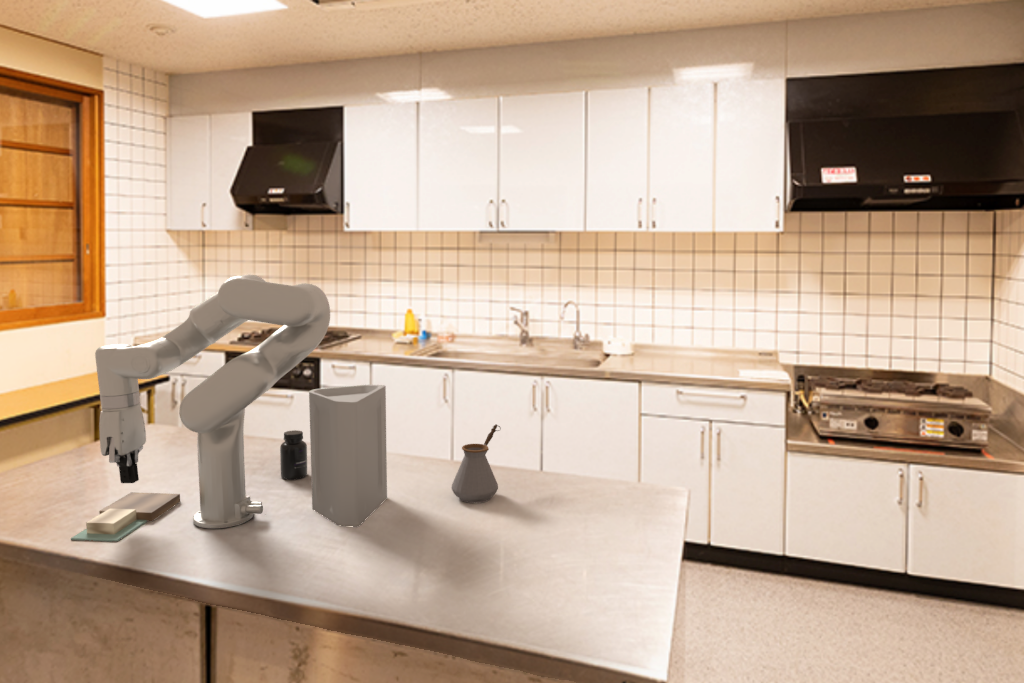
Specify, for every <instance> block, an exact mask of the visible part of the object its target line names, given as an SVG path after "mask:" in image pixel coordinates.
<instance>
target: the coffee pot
mask: <svg viewBox="0 0 1024 683" xmlns="http://www.w3.org/2000/svg"><path fill="white" fill-rule="evenodd" d="M498 427H499V429H498V430H497V428H498ZM501 429H502V427H501V426H500V425H498V424H495V425H493V426H492V428H491V430H490V432H489V433H488V434H487V437H486V439H485V440H484V443H469V444H468V443H467V444H465V445H462V446H461V450H462V451H463V454H464V456H463V458H462V460H461V463H460V465H459V468H458V469H457V472H456V475H455V477H454V478H453V481H452V484H451V491H452V492H453V494H454V495H455V496H456V497H457V498H459V500H460V501H461V502H463V501H464V503H467V504H468V503H469V504H482V503H485V502H488V501H490V500H491V498H493V496H494V495H496V494H497V491H498V490H499V484H498V482H497V480H496V477H495V475H494V473H493V469H492V467H491V466H490V463H489V461H488V458H487V456H486V454H487V453H488V451H489V449H490V448H489V446H488V445H489V444H490V442H491V441H492V438H493V437H494V434H495V432H499V431H501Z"/></svg>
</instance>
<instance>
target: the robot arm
mask: <svg viewBox="0 0 1024 683" xmlns="http://www.w3.org/2000/svg"><path fill="white" fill-rule="evenodd" d="M330 307H331V306H330V303H329V299H328V297H327V295H326V294H325V292H324V291H323V290H322V288H321V287H319V286H317V285H314V284H313V283H299V284H295V285H289V284H283V283H277V282H276V283H275V282H269V281H266V280H265V279H264V278H262V277H261V276H258V275H255V274H243V275H236V276H231V277H230V278H228V279H226V280H225V281H224V282H222V284H221V285H220V287H219V289H218V290H217V292H215V293H213V295H211V296H209V297H208V298H206V299H205V300H203V301H202V302H200V303H199V304H197V305H195V306H194V307H193V308H191V310H190V311H189V316H188V317H187V319H185V321H183V322H182V323H181V324H180V325H178V326H177V327H175V328H174V329H173V330H171V331H170V332H167V333H166V334H165V335H163V336H162V337H160V338H158V339H155V340H152V341H148V342H146V343H142V344H139V345H134V346H132V345H131V344H127V343H115V344H107V345H102V346H99V347H98V348H97V349H96V350H95V352H94V356H95V364H96V372H97V374H96V375H97V381H98V388H99V389H98V390H99V399H100V406H101V407H100V408H101V411H100V414H99V423H98V424H99V425H98V427H99V445H100V447H99V448H100V453H101V455H102V456H104V457H106V456H108V462H109V463H110V464H112V463H114V464H116V466H117V467H118V471H119V472H118V473H119V477H120V483H121V484H135V483H137V482H138V481H139V480H140V479H139V478H140V477H139V469H138V463H139V453H140V452H141V451H142V450H143V449H144V445H145V444H146V442H147V433H146V424H145V419H144V414H143V411H142V406H141V394H140V388H139V387H140V386H139V380H151V379H154V378H157V377H160V376H162V375H163V374H166V373H168V372H171V371H174V370H175V369H177V368H179V367H180V366H182V365H183V364H185V363H186V362H187V361H190V360H191V359H192V358H194V357H195V356H197V355H198V354H199V353H202V352H203V351H204V350H206V348H208V347H209V346H211V345H213V344H215V343H216V342H218V341H219V340H220V339H222V338H224V337H225V336H227V335H228V334H229V333H231V332H232V331H233V330H235V329H236V328H238V327H240V326H241V325H243V324H244V323H246V322H247V321H252V322H259V323H265V324H272V325H279V326H281V327H280V328H278V329H277V330H275V331H274V332H273V333H271V335H269V336H268V337H267V338H266V339H265V340H263V341H262V342H260V344H258V345H256V346H255V347H254V348H252V349H251V350H249V351H247V352H244V353H242V354H240V355H238V356H236V357H233V358H232V359H230V360H228V361H227V362H226V363H225V364H224V365H222V366H221V367H219V369H217V370H216V371H214V372H213V373H212V374H211V375H210V376H208V377H207V378H205V379H204V380H203V381H202V382H201V383H199V384H198V385H197V386H196V387H194V388H193V389H192V390H190V391H189V392H188V393H187V394H185V396H184V398H183V399H182V400H181V402H180V405H179V418H180V422H181V423H182V424H183V425H184V427H185V428H187V429H188V430H190V431H192V432H193V433H197V437H196V438H197V439H196V440H197V441H196V442H197V444H196V445H197V446H196V447H197V466H198V467H197V468H198V485H199V486H198V487H199V491H198V492H199V506H200V509H199V510H198V511H196V513H194V515H193V517H192V519H193V524H194V525H195V526H196V527H199V528H204V529H213V530H214V529H225V528H230V527H235V526H239V525H241V524H245V523H246V522H248V521H250V520H251V519H252V518H253V517H254V515H261V514H262V513H263V511H264V506H263V502H262V501H259V502H258V501H252V500H251V495H250V494H246V492H247V491H246V490H247V489H246V473H245V472H246V468H245V442H244V440H245V439H244V436H245V435H244V432H245V431H244V428H245V427H244V426H245V425H244V424H245V413H246V408H247V407H248V406H250V405H251V404H252V403H253V402H255V401H256V400H257V399H259V398H260V397H261V396H262V395H264V394H266V392H268V391H269V390H271V389H272V387H274V385H275V384H276V383H277V382H278V381H279V380H280V379H281V378H283V377H284V376H285V375H286V374H287V373H289V372H290V371H292V369H294V368H295V367H296V366H298V364H300V363H301V362H302V361H303V360H305V359H306V358H307V357H308V356H309V355H310V354H312V353H313V352H314V351H315V350H316V349H317V347H318V346H319V345H320V344H321V342H322V341H323V339H324V338H325V335H326V334H327V332H328V329H329V325H330V321H331V308H330Z"/></svg>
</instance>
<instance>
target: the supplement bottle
mask: <svg viewBox="0 0 1024 683" xmlns="http://www.w3.org/2000/svg"><path fill="white" fill-rule="evenodd" d="M303 433H304V432H303V431H302V430H295V429H294V430H287V431H285V432H284V433H283V442H282V443H281V444H280V447H279V448H280V449H279V451H280V453H279V454H280V455H279V458H280V459H279V460H280V477H281V478H282V479H283V480H287V479H288V480H290V481H292V480H293V481H294V479H296V480H300V479H304V478H306V476H307V475H308V445H307V443H306V442H305V441H304V435H303Z"/></svg>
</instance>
